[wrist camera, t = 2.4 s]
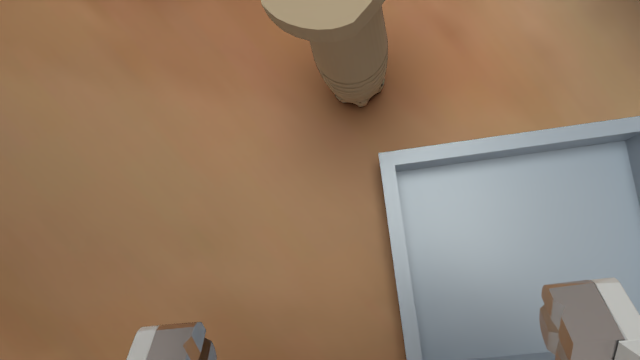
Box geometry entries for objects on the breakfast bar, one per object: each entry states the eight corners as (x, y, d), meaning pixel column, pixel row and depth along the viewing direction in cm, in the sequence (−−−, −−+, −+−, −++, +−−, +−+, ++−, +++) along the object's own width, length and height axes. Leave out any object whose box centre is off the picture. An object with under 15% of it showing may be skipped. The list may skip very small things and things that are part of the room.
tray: (409, 377, 29) (410, 390, 26) (379, 162, 31) (378, 153, 28) (682, 353, 27) (716, 365, 25) (632, 127, 29) (658, 113, 27)
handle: (408, 43, 32) (420, -134, 17) (382, 141, 31) (372, 42, 17) (334, 28, 33) (286, -153, 18) (307, 123, 32) (236, 14, 18)
